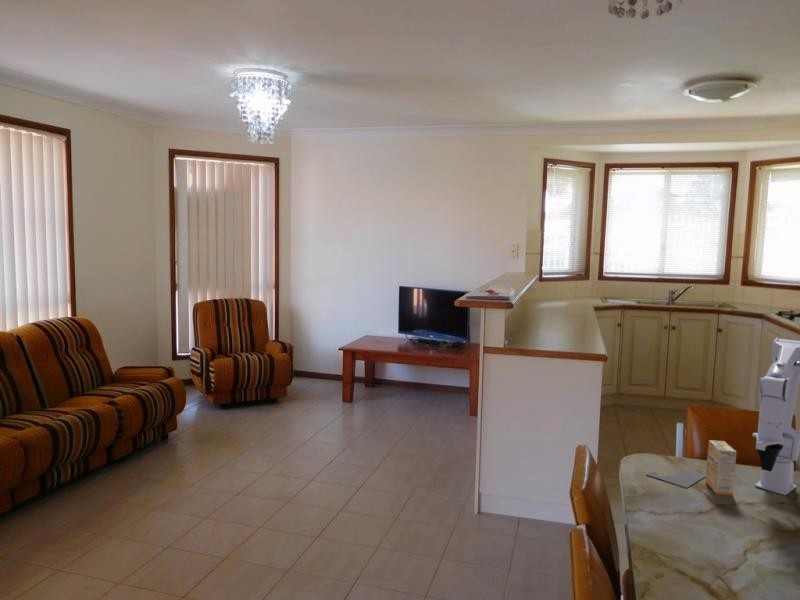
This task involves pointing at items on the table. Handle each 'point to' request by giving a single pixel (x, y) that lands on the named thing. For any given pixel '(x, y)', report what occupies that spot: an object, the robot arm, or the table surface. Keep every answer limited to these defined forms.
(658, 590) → the table surface
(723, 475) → the supplement box
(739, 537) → the table surface
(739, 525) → the table surface
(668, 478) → the rubber mat
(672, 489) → the table surface
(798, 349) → the robot arm
